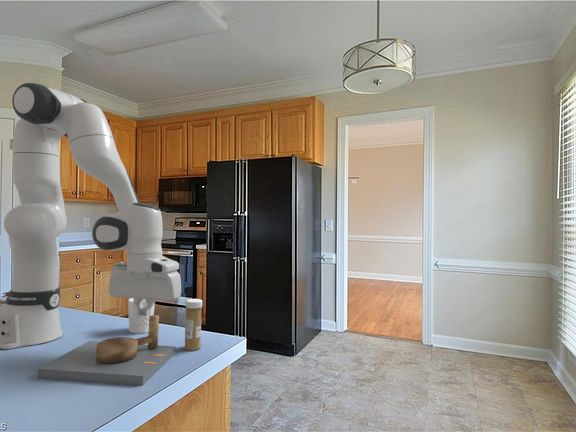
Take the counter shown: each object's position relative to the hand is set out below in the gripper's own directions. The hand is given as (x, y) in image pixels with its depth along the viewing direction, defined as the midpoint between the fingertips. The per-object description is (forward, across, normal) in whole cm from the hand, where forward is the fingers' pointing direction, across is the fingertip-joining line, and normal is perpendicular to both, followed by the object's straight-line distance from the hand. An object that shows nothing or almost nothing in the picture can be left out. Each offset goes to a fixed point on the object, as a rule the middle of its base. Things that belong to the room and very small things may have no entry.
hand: (144, 315), depth 94 cm
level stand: (+10, -2, -9) cm, 14 cm away
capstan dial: (+8, +1, -7) cm, 10 cm away
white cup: (+10, -12, +15) cm, 22 cm away
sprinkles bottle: (+10, +10, +7) cm, 16 cm away
